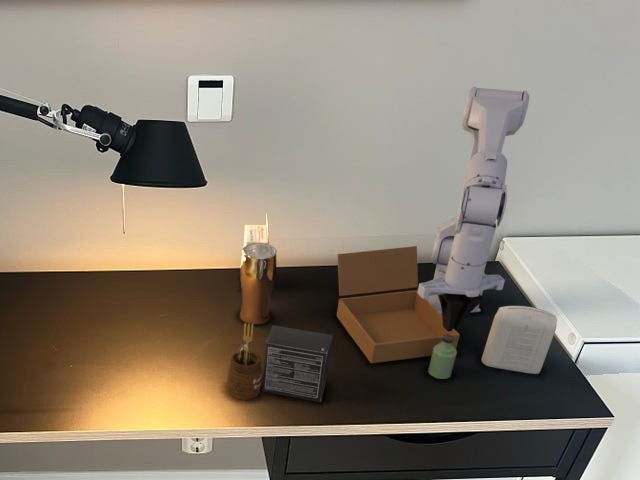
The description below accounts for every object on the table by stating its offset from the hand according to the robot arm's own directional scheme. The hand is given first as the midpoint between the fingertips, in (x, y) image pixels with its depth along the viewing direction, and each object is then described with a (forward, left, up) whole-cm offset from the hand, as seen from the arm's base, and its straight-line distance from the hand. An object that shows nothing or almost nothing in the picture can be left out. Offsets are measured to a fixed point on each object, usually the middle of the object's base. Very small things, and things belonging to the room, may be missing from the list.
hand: (450, 327), depth 131 cm
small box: (+27, -2, -10) cm, 29 cm away
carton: (+2, -14, -10) cm, 17 cm away
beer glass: (+27, -26, -10) cm, 38 cm away
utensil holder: (+36, -2, -10) cm, 37 cm away
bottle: (0, 0, -10) cm, 10 cm away
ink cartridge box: (+23, -40, -10) cm, 47 cm away
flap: (+2, -24, -1) cm, 24 cm away
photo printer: (-14, 0, -10) cm, 17 cm away
